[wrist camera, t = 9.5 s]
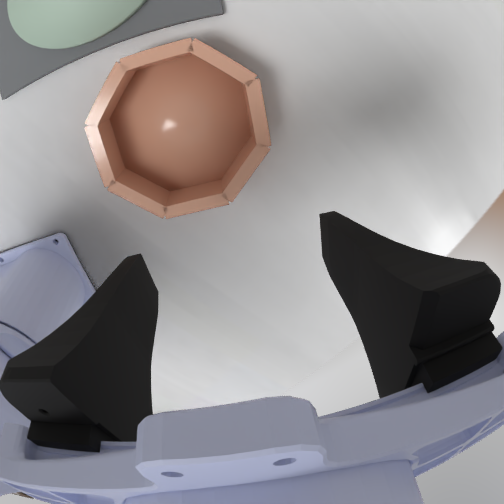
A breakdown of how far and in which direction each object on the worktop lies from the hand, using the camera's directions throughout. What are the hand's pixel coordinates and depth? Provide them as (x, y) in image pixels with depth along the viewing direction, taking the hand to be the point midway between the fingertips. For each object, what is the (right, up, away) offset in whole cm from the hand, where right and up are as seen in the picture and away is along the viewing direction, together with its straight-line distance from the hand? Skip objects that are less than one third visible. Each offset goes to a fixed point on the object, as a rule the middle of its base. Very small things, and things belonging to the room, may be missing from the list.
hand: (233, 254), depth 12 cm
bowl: (-4, +8, +6) cm, 11 cm away
